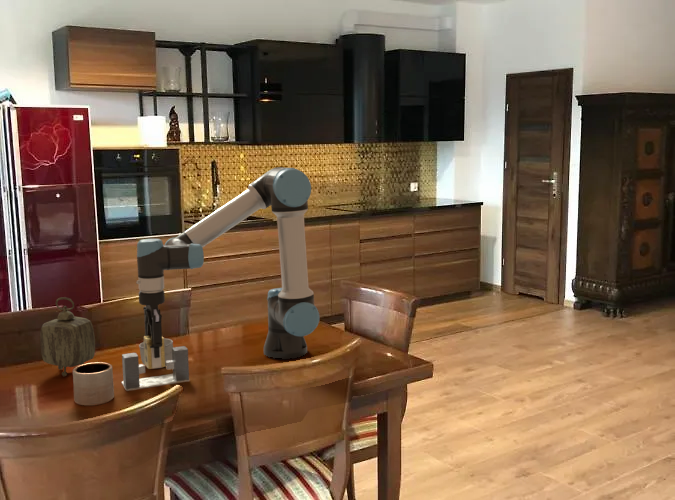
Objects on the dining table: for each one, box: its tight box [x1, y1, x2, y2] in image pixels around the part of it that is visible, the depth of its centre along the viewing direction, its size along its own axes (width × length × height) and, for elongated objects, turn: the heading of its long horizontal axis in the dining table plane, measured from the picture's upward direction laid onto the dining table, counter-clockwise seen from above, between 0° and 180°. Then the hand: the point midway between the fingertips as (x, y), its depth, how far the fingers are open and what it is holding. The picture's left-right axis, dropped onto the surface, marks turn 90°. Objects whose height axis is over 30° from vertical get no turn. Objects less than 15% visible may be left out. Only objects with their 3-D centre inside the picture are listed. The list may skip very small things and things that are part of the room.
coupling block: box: [143, 335, 166, 370], centre depth 216 cm, size 5×5×9 cm
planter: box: [72, 361, 115, 407], centre depth 202 cm, size 11×11×10 cm
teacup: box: [138, 337, 174, 369], centre depth 234 cm, size 14×11×8 cm
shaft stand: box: [121, 345, 191, 392], centre depth 216 cm, size 19×8×10 cm, turn 117°
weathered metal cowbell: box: [39, 296, 96, 377], centre depth 223 cm, size 14×9×25 cm, turn 71°
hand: (154, 364), depth 216 cm, fingers closed on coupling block, 5 cm apart
